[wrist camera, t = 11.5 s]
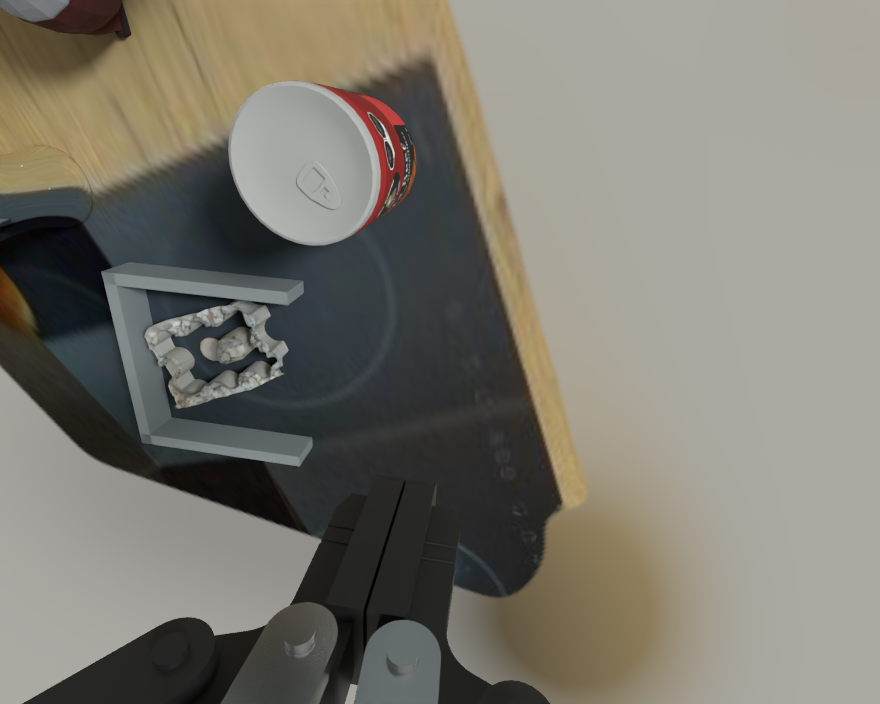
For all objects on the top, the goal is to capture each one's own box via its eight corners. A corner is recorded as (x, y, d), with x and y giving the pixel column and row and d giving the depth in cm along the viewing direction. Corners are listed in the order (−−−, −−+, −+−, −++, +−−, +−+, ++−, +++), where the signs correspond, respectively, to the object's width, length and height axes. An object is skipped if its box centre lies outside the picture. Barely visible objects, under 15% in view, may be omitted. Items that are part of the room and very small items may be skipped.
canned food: (389, 234, 36) (340, 273, 26) (293, 176, 35) (206, 195, 26) (439, 136, 33) (405, 139, 23) (335, 70, 32) (254, 44, 22)
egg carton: (199, 390, 45) (170, 413, 41) (159, 316, 42) (125, 334, 39) (300, 368, 42) (279, 390, 39) (264, 287, 40) (238, 303, 36)
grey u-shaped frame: (129, 262, 40) (101, 271, 38) (303, 280, 39) (287, 292, 36) (163, 424, 47) (142, 442, 44) (312, 446, 45) (299, 466, 43)
